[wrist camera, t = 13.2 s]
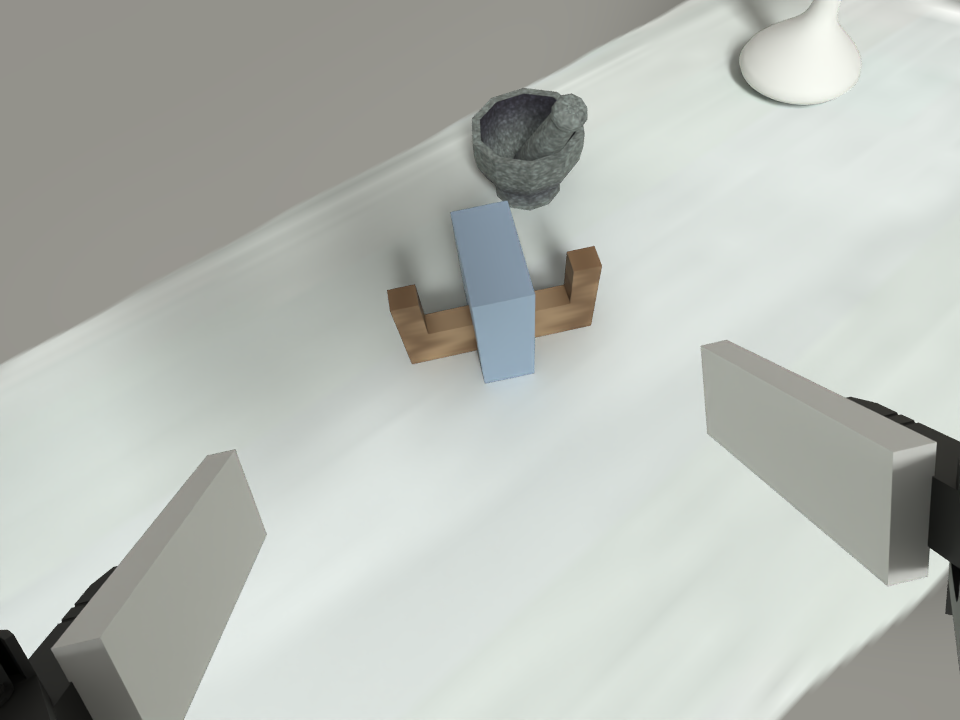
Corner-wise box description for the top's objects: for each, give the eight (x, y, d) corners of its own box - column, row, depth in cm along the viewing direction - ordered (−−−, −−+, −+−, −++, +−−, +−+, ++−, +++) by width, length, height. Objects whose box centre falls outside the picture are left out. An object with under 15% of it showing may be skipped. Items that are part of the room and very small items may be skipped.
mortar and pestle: (458, 181, 54) (440, 68, 44) (531, 136, 56) (532, 17, 46) (532, 250, 50) (533, 141, 39) (609, 197, 52) (629, 81, 41)
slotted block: (484, 383, 44) (471, 307, 34) (466, 301, 48) (450, 212, 38) (534, 372, 44) (535, 294, 34) (512, 291, 48) (507, 200, 38)
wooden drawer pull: (412, 364, 45) (390, 311, 38) (409, 345, 46) (386, 290, 39) (590, 325, 45) (601, 265, 38) (584, 307, 46) (594, 245, 39)
